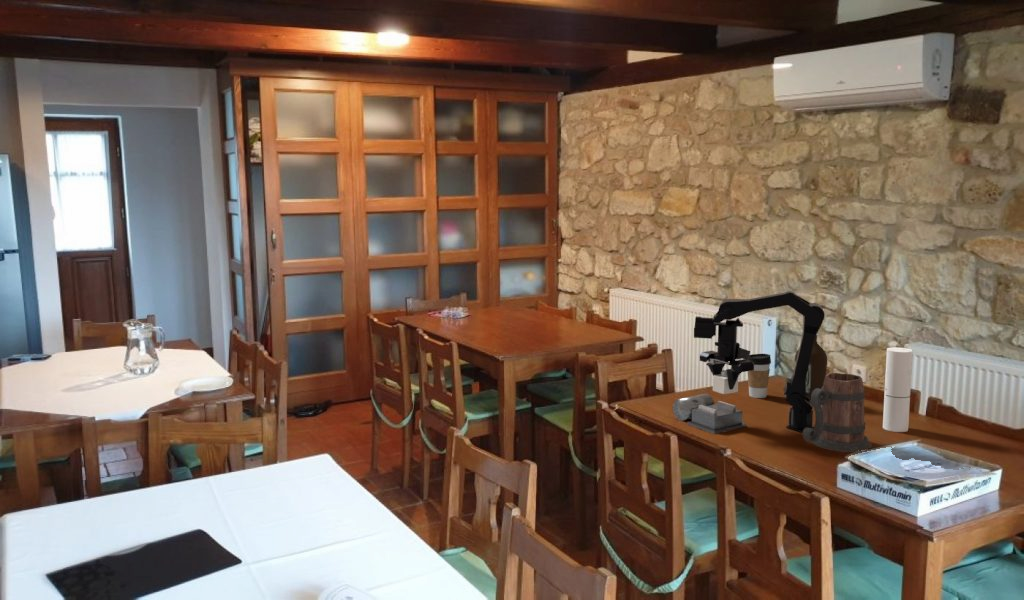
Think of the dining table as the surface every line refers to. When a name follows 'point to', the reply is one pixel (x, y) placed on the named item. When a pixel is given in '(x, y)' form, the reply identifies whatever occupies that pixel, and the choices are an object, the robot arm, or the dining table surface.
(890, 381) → the cylindrical container
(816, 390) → the tankard
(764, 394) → the coffee cup
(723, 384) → the white knobbed block
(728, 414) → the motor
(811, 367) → the olive oil
